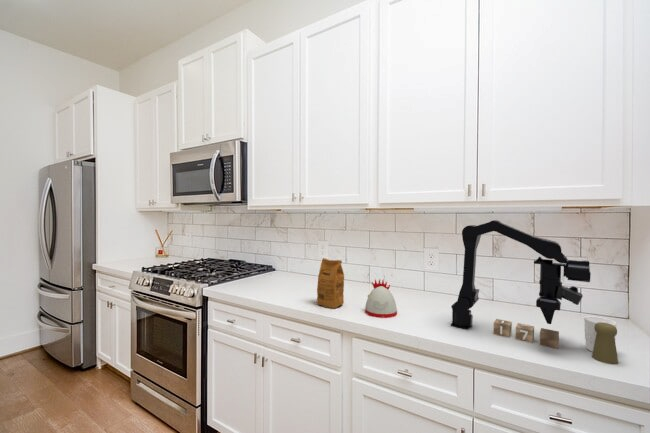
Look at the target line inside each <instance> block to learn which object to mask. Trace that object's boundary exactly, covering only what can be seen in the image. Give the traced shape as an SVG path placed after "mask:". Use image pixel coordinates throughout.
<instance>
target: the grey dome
mask: <svg viewBox="0 0 650 433" xmlns="http://www.w3.org/2000/svg"><path fill="white" fill-rule="evenodd" d="M387 284H388V282H387V281H386V282H384V279H382V281H381V279H380V278H379V280H378V282H377V279H376V278H375V279H374V282H373V281H371V285H372V286H373V289H372V290H371V292H370V293H369V294H368V295H367V299H366V302H365V309H364V313H365V315H367V316H370V317H373V318H377V319H379V318H380V319H387V318H388V319H389V318H394V317H396V316H397V314H398V309H397V303H396V300H395V297H394V295H393V293H392V292H391V290H390V287H391V284H389V285H388V286H387Z"/></svg>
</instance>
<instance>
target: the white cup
mask: <svg viewBox="0 0 650 433" xmlns="http://www.w3.org/2000/svg"><path fill="white" fill-rule="evenodd" d="M599 322H602V323H608V324H611V325H613V326H615V327H616V328H617V322H616V321H614V320H612V319H609V318H604V317H600V316H593V315H591V316H590V315H589V316H588V315H587V316H584V317H583V323H584V324H583V325H584V326H583V327H584V339H585V349H587V350H588V351H590V352H592V353H593V349H594V344H595V339H596V334H597V333H596V331H595V329H594V326H595V324H596V323H599Z"/></svg>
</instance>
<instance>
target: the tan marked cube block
mask: <svg viewBox="0 0 650 433" xmlns="http://www.w3.org/2000/svg"><path fill="white" fill-rule="evenodd" d="M514 338H515V340H518V341H521V342H526V343H530V344H533V342H534V340H535V326H534V325H530V324H525V323H520V322H519V323H517V324H516V326H515V337H514Z"/></svg>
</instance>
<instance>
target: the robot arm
mask: <svg viewBox="0 0 650 433" xmlns="http://www.w3.org/2000/svg"><path fill="white" fill-rule="evenodd" d="M491 232H496V233H497V234H501V235H503V236H505V237H507V238H510V239H512V240H514V241H516V242H518V243H520V244H523V245H526V246H527V247H528V248H530V249H532V250H534V251H535V252H536V253H537V254H539V255H540V256H538V258H536V259H535V260H534V261H533V264H534V265H539V267H540V268H539V269H540V270H539V281H538V283H539V284H538V285H539V292H538V297H537V299H536V302H535V305H536V306H535V307H537V308H539V309H540V310H541V313H542V314H543V317H544V319H545V322H546V324H548V325H551V324H552V321H553V318H554V314H555V311H561V307H562V306H561V305H562V302H561V301H562V300H566V301H569V302H571V303H572V304H574V305H580V302H581V301H582V299H583V297H584V296H583V294H582V292H579V289H578V287H577V286H574V285H572V286H570V287H567V286H565V285H564V286H563V282H562V275H563V277H565V278H566V279H567V280H568V281H571V282H573V281H575V282H581V283H591V274H592V273H591V270H590V267H591V266H590V261H589V260H575V259H568V258H567V256H565V254H564V253H563V252H562V246H561V245H560V244H559V242H557V241H555V240H551V239H547V238H543V237H538V236H534V235H531V234H529V233H528V232H524V231H521V230H520V229H518V228H515V227H513V226H510V225H508V224H505V223H503V222H501V221H500V220H498V219H495V220H490V221H488V222H486V223H482V224H479V225H476V224H471V225H466V226H465V227H463V229H462V231H461V237H462V243H463V246H464V254H463V255H464V256H463V272H462V284H461V287H460V290H459V293H458V296H457V300H456V301H455V302H454V303H453V304H452V305H451V310H452V312H451V314H452V316H451V319H452V320H451V323H450V326H452V327H456V328H459V329H460V328H461V329H464V330H465V329H466V330H469V329H470V328H471V327H472V326H473V319H474V318H473V317H474V315H473V314H472V310H471V308H473V307H474V306H475V304H476V303H477V302H478V301H479V299H480V297H479V293H480V289H478V288H476V285H475V277H476V267H477V266H476V263H477V249H478V247H479V244H480V240H481V237H482V235H485V234H488V233H491ZM542 257H544V258H545V259H544V258H542ZM553 260H555V261H556V262H554V261H553ZM562 267H563V274H562ZM560 300H561V301H560Z"/></svg>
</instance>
